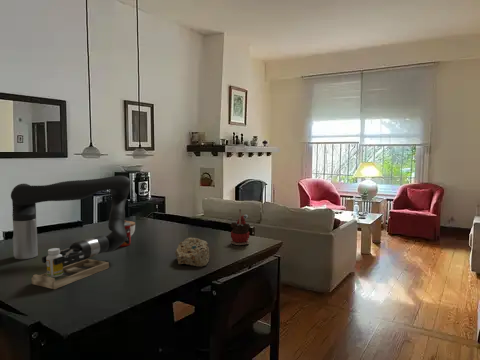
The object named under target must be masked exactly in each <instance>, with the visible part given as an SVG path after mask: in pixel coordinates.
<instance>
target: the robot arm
mask: <svg viewBox="0 0 480 360" xmlns="http://www.w3.org/2000/svg"><path fill="white" fill-rule="evenodd" d="M130 188H131V180H130V178H129V177H128V176H125V175H114V176H107V177H101V178H93V179H92V178H89V179H81V180H80V179H79V180H78V179H77V180H67V181H60V182H59V181H58V182H55V183H52V184H45V185H30V184H28V183H19V184H17V185H15V186H14V187H13V188H12V190H11V192H10V199H11V205H12V230H13V231H12V232H13V236H12V250H13V252H12V253H13V258H14V259H15V260H27V259H29V260H30V259H33V258H36V257H38V255H39V253H38V252H39V251H38V229H37V227H38V226H37V208H36V207H37V206H36V205H37V204H38V203H39V204H40V203H42V202H65V201H66V202H67V201H70V202H71V201H79V200H84V199H87V198H88V197H91V196H93V195H94V194H95V195H96V194H97V193H98V192H103V191H108V190H109V191H110V197H111V208H110V212H109V215H108V223H107V224H108V226H107V227H108V230H109V231H111V232H109V233H108V234H107V235H105V236H104V235H100V236H95V237H91V238H86V239H83V240H80V241H76V242H73V243H72V244H71V245H70V247H68V248H64V249H61V248H59V249H60V253H59V254H61V255H62V257H58V258H55V259H54V260H53V264H54V265H58V264H60V263H63V264H66V263H70V264H73V263H76V262H79V261H82V260H85V259H91V258H93V257H94V256H96V255H99V254H102V253H107V252H112V251H114V250H117V249H118V248H119V246H120V245H122V244H123V243H124V242H125V240H126V237H127V234H126V230H125V226H124V224H125V220H126V209H125V208H126V203H127V199H128V196H129V194H130V190H131V189H130ZM48 255H49V254H48ZM48 255H44V256H42V257H41V263H43V264H47V263H46V257H47V256H48Z"/></svg>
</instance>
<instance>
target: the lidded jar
mask: <svg viewBox="0 0 480 360" xmlns="http://www.w3.org/2000/svg"><path fill="white" fill-rule="evenodd" d="M125 222H128V223H130V235H131V237H132V236H133V235H134V233H135V231H136V222H135V221H130V220H126V219H125Z"/></svg>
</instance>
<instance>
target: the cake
mask: <svg viewBox="0 0 480 360" xmlns="http://www.w3.org/2000/svg"><path fill="white" fill-rule="evenodd" d="M238 211H239V213H238V216H239V218H238V219H237V221H236V222H235V221H232V222H231V223H230V227H231V228H232V229H231V231H230V238H231V240H230V243H231V244H232V245H237V246H244V245H248V244H250V240H249V239H250V231H249V229H251V225H249V223H247V222H246V219H248V218H249V216H248V214H243V215H242V209H241V208H239V209H238Z"/></svg>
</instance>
